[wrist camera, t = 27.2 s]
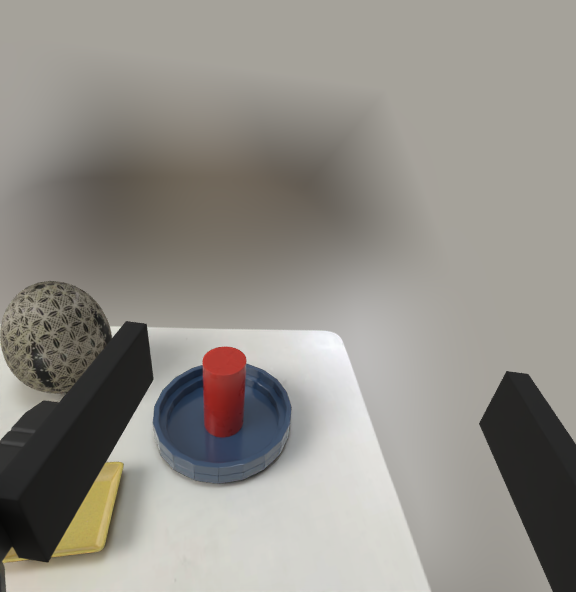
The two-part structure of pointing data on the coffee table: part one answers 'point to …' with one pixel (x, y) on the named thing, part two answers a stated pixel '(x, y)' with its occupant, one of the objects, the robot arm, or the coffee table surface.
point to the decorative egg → (52, 335)
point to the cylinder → (224, 390)
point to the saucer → (89, 517)
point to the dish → (221, 450)
